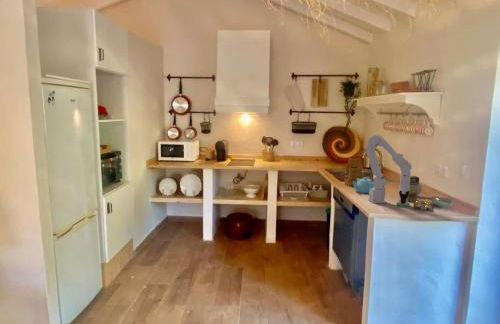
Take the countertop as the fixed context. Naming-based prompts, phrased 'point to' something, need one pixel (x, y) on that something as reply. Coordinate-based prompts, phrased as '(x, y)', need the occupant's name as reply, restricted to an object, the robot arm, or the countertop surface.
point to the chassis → (422, 206)
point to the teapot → (363, 185)
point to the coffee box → (413, 188)
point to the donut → (419, 189)
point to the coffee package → (353, 171)
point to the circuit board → (403, 204)
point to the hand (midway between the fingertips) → (403, 202)
